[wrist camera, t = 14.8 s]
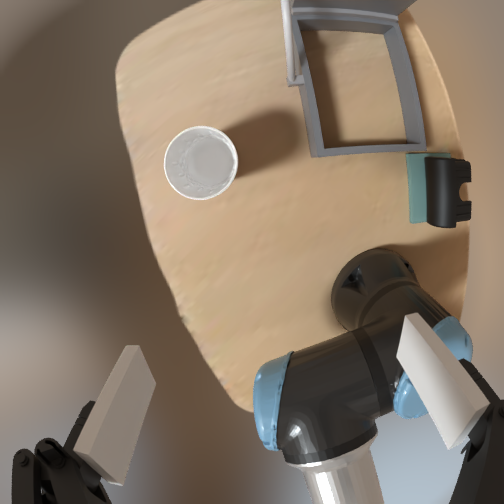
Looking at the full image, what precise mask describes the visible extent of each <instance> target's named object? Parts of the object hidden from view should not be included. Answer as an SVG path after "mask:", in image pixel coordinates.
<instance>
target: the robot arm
mask: <svg viewBox="0 0 504 504" xmlns="http://www.w3.org/2000/svg"><path fill="white" fill-rule="evenodd" d="M331 303H332V308H333V311H334V313H335V315H336V317H337V319H338V321H339V323H340V324H341V325H342V326H343V327H344V328H345V329H346V330H348V331H349V332H347V333H344V334H342V335H339V336H337V337H334V338H332V339H329V340H326V341H324V342H321V343H318V344H316V345H313V346H310V347H307V348H305V349H302V350H299V351H296V352H294V351H291V352H289V353H288V354H287V355H284V356H282V357H279V358H277V359H274V360H271V361H268V362H266V363H265V364H263V365H262V366H261V367H260V369H259V370H258V372H257V374H256V377H255V381H254V388H253V406H254V416H255V421H256V426H257V430H258V434H259V437H260V439H261V440H262V441H263V445H264V446H265V447H266V448H267V449H268V450H274V451H278V450H280V449H281V450H282V452H283V455H284V458H285V461H286V463H287V464H288V465H290V466H293V467H295V468H298V469H300V470H301V471H302V472H303V475H304V478H305V481H306V485H307V488H308V491H309V494H310V497H311V500H312V503H313V504H384V501H383V496H382V492H381V488H380V485H379V481H378V477H377V473H376V469H375V465H374V462H373V458H372V455H371V451H370V446H371V444H372V443H373V441H374V440H375V438H376V437H377V435H378V430H377V427H376V423H375V419H376V418H378V417H380V416H383V415H385V414H387V413H389V412H391V411H395V412H396V413H397V415H400V416H401V417H403V418H405V419H411V418H418V417H420V416H423V415H425V414H427V413H429V414H430V416H431V418H432V420H433V421H434V423H435V425H436V427H437V429H438V431H439V433H440V434H441V436H442V439H443V440H444V442H445V444H446V446H447V448H448V450H449V449H451V448H453V447H455V446H457V445H459V444H461V443H462V442H463V441H464V439H465V438H466V437H467V436H469V438H470V441H469V442H468V443H467V444H466V446H465V447H464V448H463V449H462V451H461V454H462V453H463V452H464V451H465V450H466V453H465V457H464V461H463V464H462V468H461V471H460V474H459V477H458V481H457V483H456V486H455V489H454V492H453V495H452V497H451V500H450V502H449V504H504V400H500V399H499V397H498V396H497V395H496V393H495V392H494V391H493V389H492V388H491V387H490V386H489V384H488V383H487V382H486V380H485V379H484V378H482V375H481V374H480V373H479V372H478V370H477V369H476V368H475V367H474V365H473V364H472V363H471V359H472V353H473V345H472V341H471V338H470V336H469V334H467V332H466V331H465V329H464V328H463V327H462V326H461V324H460V323H459V321H458V319H457V318H455V317H454V316H452V315H451V314H450V313H448V312H447V311H446V310H445V309H444V308H443V307H442V306H441V305H440V304H439V303H438V302H437V301H436V300H434V299H433V298H432V297H431V296H430V295H429V294H428V293H427V292H426V291H424V290H423V289H422V288H421V287H420V285H419V282H418V280H417V278H416V275H415V273H414V270H413V268H412V267H411V265H410V264H409V263H408V262H407V261H406V260H405V259H404V258H403V257H402V256H400V255H399V254H397V253H396V252H394V251H391V250H388V249H373V250H369V251H366V252H363V253H361V254H359V255H358V256H356V257H354V258H353V259H352V260H351V261H349V262H348V263H347V264H346V265H345V266H344V268H343V269H342V270H341V271H340V273H339V275H338V276H337V278H336V280H335V283H334V285H333V289H332V294H331ZM155 385H156V383H155V380H154V378H153V376H152V374H151V372H150V370H149V367H148V365H147V363H146V361H145V358H144V356H143V354H142V352H141V349H140V346H139V345H126V347H125V349H124V350H123V352H122V354H121V355H120V357H119V359H118V361H117V363H116V365H115V367H114V368H113V370H112V372H111V374H110V376H109V378H108V380H107V382H106V383H105V386H104V387H103V389H102V391H101V393H100V395H99V397H98V399H97V401H96V402H95V401H89V403H87V405H85V406H84V407H83V408H82V410H81V412H80V414H79V418H77V420H76V422H75V425H74V426H73V428H72V430H71V432H70V434H69V436H68V438H67V440H66V442H65V445H64V447H62V446H61V445H60V444H59V443H58V442H57V441H55V440H54V439H52V438H44V439H43V440H41V441H39V442H38V444H37V445H36V447H35V453H34V454H35V455H36V456H35V455H34V454H33V453H32V452H31V451H30V450H28V449H21V450H19V451H18V452H16V454H15V456H14V459H13V469H12V504H112V503H111V501H110V499H109V497H108V495H107V493H106V491H105V489H104V487H103V485H102V484H101V482H100V479H101V477H102V478H104V479H105V480H106V481H107V482H109V483H113V484H116V485H121V486H123V485H124V482H125V478H126V475H127V472H128V468H129V465H130V461H131V458H132V455H133V452H134V449H135V445H136V442H137V439H138V436H139V433H140V429H141V427H142V424H143V421H144V418H145V414H146V411H147V408H148V406H149V403H150V400H151V397H152V394H153V391H154V388H155ZM41 489H42V493H41Z"/></svg>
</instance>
